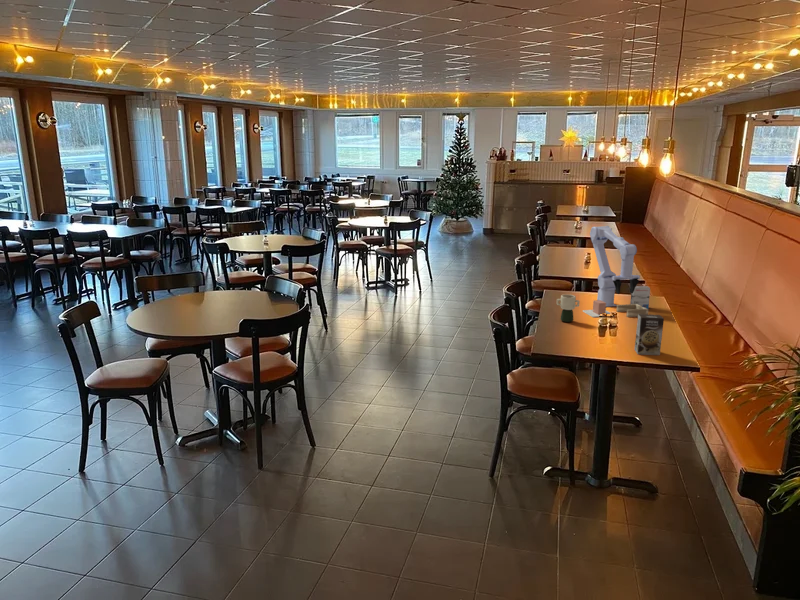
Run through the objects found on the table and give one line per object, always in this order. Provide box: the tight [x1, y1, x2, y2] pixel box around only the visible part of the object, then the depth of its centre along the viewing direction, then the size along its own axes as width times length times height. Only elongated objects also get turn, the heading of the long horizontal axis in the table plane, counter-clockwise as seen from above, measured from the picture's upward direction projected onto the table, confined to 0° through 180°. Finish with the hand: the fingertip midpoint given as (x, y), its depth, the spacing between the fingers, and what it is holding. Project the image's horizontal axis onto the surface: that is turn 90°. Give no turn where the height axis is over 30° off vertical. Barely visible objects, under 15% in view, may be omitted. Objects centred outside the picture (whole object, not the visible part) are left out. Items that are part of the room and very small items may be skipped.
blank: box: [592, 299, 607, 315], centre depth 311 cm, size 6×4×6 cm, turn 9°
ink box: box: [629, 285, 651, 310], centre depth 322 cm, size 8×5×12 cm, turn 84°
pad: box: [582, 309, 611, 318], centre depth 313 cm, size 12×12×1 cm
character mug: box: [556, 294, 580, 323], centre depth 298 cm, size 11×7×13 cm, turn 71°
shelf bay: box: [616, 303, 649, 318], centre depth 312 cm, size 11×11×4 cm
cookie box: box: [634, 313, 665, 356], centre depth 251 cm, size 9×6×16 cm
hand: (624, 293), depth 314 cm, fingers open, 7 cm apart
